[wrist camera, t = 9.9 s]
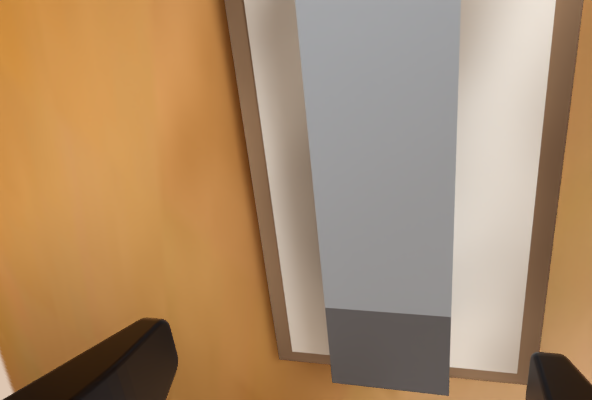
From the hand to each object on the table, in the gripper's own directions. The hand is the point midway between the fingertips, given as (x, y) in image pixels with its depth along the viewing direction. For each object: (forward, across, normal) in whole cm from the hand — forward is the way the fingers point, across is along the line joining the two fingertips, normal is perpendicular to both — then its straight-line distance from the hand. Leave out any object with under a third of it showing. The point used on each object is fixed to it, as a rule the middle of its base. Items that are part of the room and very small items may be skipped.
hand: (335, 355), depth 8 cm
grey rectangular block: (+10, 0, 0) cm, 10 cm away
